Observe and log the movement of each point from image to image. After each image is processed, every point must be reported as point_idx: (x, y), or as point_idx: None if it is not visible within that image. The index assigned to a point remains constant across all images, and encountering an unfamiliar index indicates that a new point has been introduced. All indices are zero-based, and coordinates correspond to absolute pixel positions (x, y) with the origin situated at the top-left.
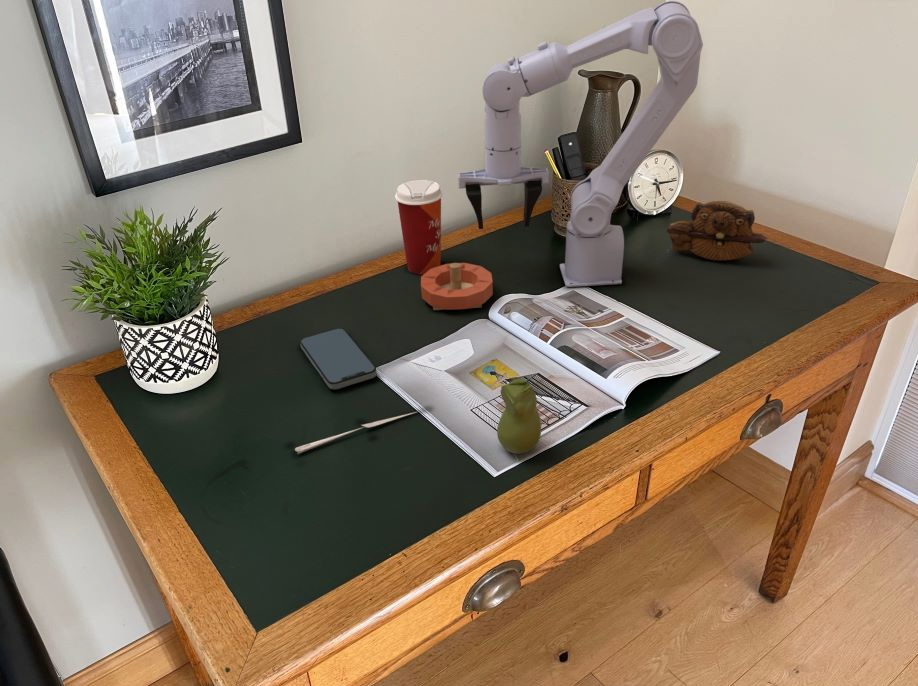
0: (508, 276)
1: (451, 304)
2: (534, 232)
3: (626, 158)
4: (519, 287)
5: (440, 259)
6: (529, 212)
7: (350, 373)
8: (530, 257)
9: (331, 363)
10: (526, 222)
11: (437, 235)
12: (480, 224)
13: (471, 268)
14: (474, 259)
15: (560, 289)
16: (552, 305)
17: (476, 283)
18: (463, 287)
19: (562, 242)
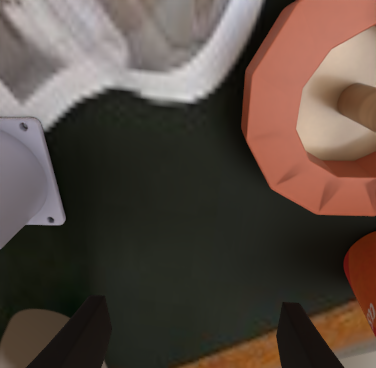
0: (187, 193)
1: None
2: (126, 345)
3: None
4: (162, 135)
5: (353, 267)
6: (51, 352)
7: None
8: (133, 265)
9: None
10: (90, 308)
11: None
12: (302, 320)
13: (305, 177)
14: (258, 273)
15: (55, 112)
16: (69, 15)
17: (312, 67)
18: (325, 126)
19: (70, 308)
